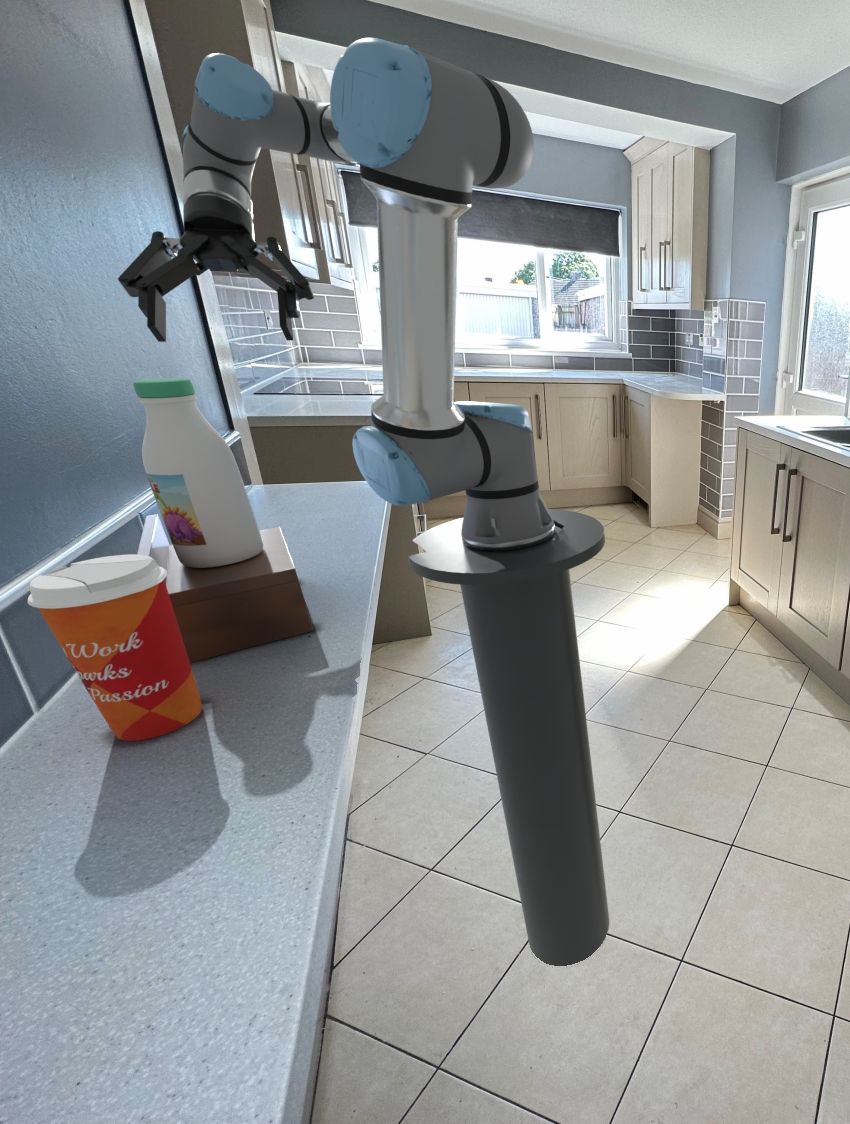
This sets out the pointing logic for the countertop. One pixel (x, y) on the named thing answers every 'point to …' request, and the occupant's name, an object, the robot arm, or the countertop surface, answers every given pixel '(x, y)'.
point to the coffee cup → (122, 642)
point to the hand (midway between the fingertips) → (224, 333)
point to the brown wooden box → (231, 596)
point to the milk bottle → (194, 478)
